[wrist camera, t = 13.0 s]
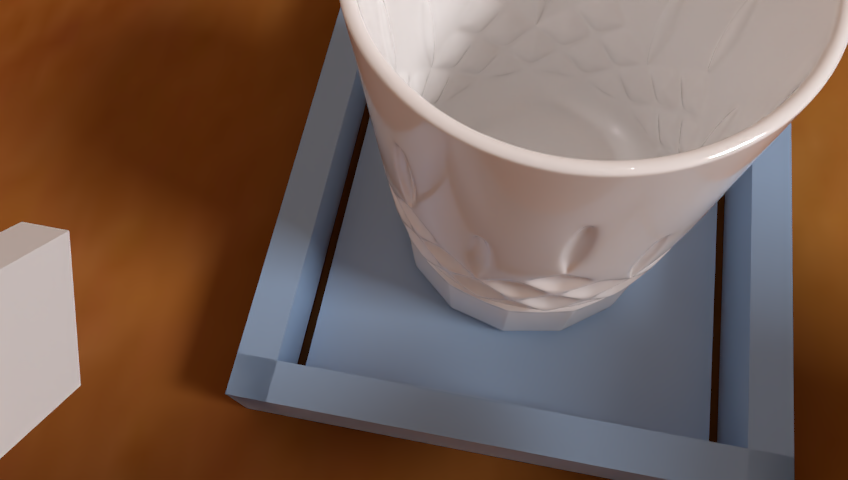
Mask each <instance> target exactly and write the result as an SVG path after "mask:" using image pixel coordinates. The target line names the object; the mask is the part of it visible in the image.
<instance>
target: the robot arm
mask: <svg viewBox="0 0 848 480" xmlns="http://www.w3.org/2000/svg"><path fill="white" fill-rule="evenodd" d="M80 386H81V382H80V369H79V355H78V342H77V329H76V315H75V302H74V288H73V275H72V262H71V248H70V235H69V230H64V229H58V228H53V227H47V226H42V225H36V224H31V223H26V222H20V223H18V224H16V225H14V226H12V227H10V228H8V229H6V230H4V231H2V232H0V458H1V457H3V456H4V455H5V454H6V453H7V452H8V451H9V450H10V449H11V448H12V447H14V446H15V445H16V444H17V443H18V442H19V441H20V440H21V439H22V438H23V437H25V436H26V435H27V434H28V433H29V432H30V431H31V430H32V429H33V428H34V427H36V426H37V425H38V424H39V423H40V422H41V421H42V420H43V419H44V418H45V417H47V416H48V415H49V414H50V413H51V412H52V411H53V410H54V409H55V408H56V407H58V406H59V405H60V404H61V403H62V402H63V401H64V400H65V399H66V398H67V397H69V396H70V395H71V394H72V393H73V392H74V391H75V390H76V389H77V388H78V387H80Z"/></svg>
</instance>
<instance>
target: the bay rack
mask: <svg viewBox="0 0 848 480" xmlns="http://www.w3.org/2000/svg"><path fill="white" fill-rule="evenodd" d="M365 105H366V99H365V95H364V91H363V87H362V83H361V79H360V75H359V72H358V68H357V64H356V60H355V57H354V53H353V49H352V46H351V42H350V38H349V34H348V31H347V27H346V23H345V20H344V16H343V12H342V9H341V7H340V11H339V14H338V17H337V21H336V24H335V27H334V31H333V34H332V37H331V41H330V44H329V47H328V51H327V54H326V57H325V61H324V64H323V68H322V71H321V74H320V78H319V81H318V84H317V88H316V91H315V94H314V98H313V101H312V104H311V108H310V111H309V114H308V118H307V121H306V124H305V128H304V131H303V135H302V138H301V141H300V145H299V148H298V151H297V155H296V158H295V161H294V165H293V168H292V171H291V175H290V178H289V181H288V185H287V188H286V192H285V195H284V198H283V202H282V205H281V208H280V212H279V215H278V218H277V222H276V225H275V228H274V232H273V235H272V238H271V242H270V245H269V248H268V252H267V255H266V259H265V262H264V265H263V269H262V272H261V275H260V279H259V282H258V285H257V289H256V292H255V295H254V299H253V302H252V305H251V309H250V312H249V316H248V319H247V322H246V326H245V329H244V332H243V336H242V339H241V342H240V346H239V349H238V352H237V356H236V359H235V362H234V366H233V369H232V372H231V376H230V379H229V383H228V386H227V389H226V393H225V394H226V395H228V396H229V397H231V398H232V399H234V400H235V401H237V402H238V403H240V404H241V405H243V406H244V407H246V408H248V409H253V410H259V411H264V412H269V413H274V414H279V415H284V416H289V417H294V418H300V419H305V420H310V421H315V422H320V423H325V424H330V425H335V426H341V427H346V428H351V429H356V430H361V431H366V432H371V433H376V434H382V435H387V436H392V437H397V438H402V439H407V440H412V441H417V442H423V443H428V444H433V445H438V446H443V447H448V448H453V449H458V450H464V451H469V452H474V453H479V454H484V455H489V456H494V457H499V458H505V459H510V460H515V461H520V462H525V463H530V464H535V465H540V466H546V467H551V468H556V469H561V470H566V471H571V472H576V473H581V474H587V475H592V476H597V477H602V478H607V479H612V480H794V380H793V274H792V167H791V123H790V124H789V125H788V126H787V127H786V128H785V129H784V130H783V131H782V133H781V134H780V135H779V136H778V137H777V138H776V139H775V140H774V141H773V142H772V143H771V144H770V145H769V146H768V147H767V149H766V150H765V151H764V152H763V153H762V154H761V155H760V156H759V157H758V158H757V159H756V160H755V161H754V163H753V164H752V165H751V166H750V167H749V168H748V169H747V170H746V171H745V172H744V173H743V174H742V176H741V177H740V178H739V179H738V180H737V181H736V182H735V183H734V184H733V185H732V186H731V188H730V189H729V190H728V191H727V192H726V193H725V205H724V237H723V269H722V301H721V333H720V365H719V397H718V429H717V443H716V442H710V441H709V426H710V398H711V370H712V342H713V314H714V285H715V257H716V229H717V203H716V204H715V205H714V206H713V207H712V208H711V209H710V210H709V211H708V212H707V214H706V215H705V216H704V217H703V218H702V219H701V220H700V221H699V222H698V223H697V224H696V225H695V226H694V227H693V228H692V229H691V230H690V231H689V232H688V233H687V234H686V235H685V236H684V237H683V238H682V239H680V240H679V241H678V242H677V243H676V244H675V245H674V246H673V247H672V248H671V249H670V250H669V251H668V252H667V253H666V254H665V255H664V256H663V257H662V258H661V259H660V260H659V261H658V262H657V263H656V264H655V265H654V266H653V267H652V268H651V269H650V270H649V271H647V272H646V273H645V274H643V275H642V276H641V277H640V278H638V279H637V280H636V281H634V282H633V283H632V284H630V285H629V286H628V287H627V289H626V290H625V291H624V292H623V293H622V294H621V296H620V297H619V298H618V299H617V300H616V301H615V303H614V304H613V305H612V306H611V307H609V308H607V309H605V310H603V311H601V312H599V313H597V314H595V315H592V316H590V317H588V318H586V319H584V320H582V321H580V322H578V323H576V324H574V325H572V326H570V327H568V328H565V329H563V330H561V331H502V330H499V329H497V328H495V327H493V326H491V325H489V324H486V323H484V322H482V321H480V320H478V319H475V318H473V317H471V316H469V315H467V314H464V313H462V312H460V311H458V310H456V309H453V308H451V307H450V306H449V304H448V303H447V302H446V301H445V300H444V298H443V297H442V296H441V295H440V294H439V293H438V291H437V290H436V289H435V288H434V287H433V285H432V284H431V283H430V282H429V281H428V279H427V278H426V277H425V276H424V275H423V274H422V272H421V271H420V270H419V269H418V268H417V266H416V264H415V260H414V256H413V251H412V247H411V243H410V238H409V234H408V231H407V229H406V227H405V225H404V223H403V221H402V219H401V218H400V216H399V214H398V212H397V209H396V206H395V202H394V198H393V196H392V193H391V190H390V186H389V183H388V180H387V178H386V175H385V171H384V167H383V163H382V159H381V155H380V152H379V148H378V144H377V140H376V136H375V133H374V129H373V125H372V122H371V118H369V122H368V126H367V130H366V134H365V138H364V142H363V146H362V149H361V153H360V157H359V161H358V165H357V169H356V173H355V176H354V180H353V184H352V188H351V192H350V196H349V200H348V203H347V207H346V211H345V215H344V219H343V223H342V227H341V231H340V234H339V238H338V242H337V246H336V250H335V254H334V258H333V261H332V265H331V269H330V273H329V277H328V281H327V285H326V288H325V292H324V296H323V300H322V304H321V308H320V312H319V316H318V319H317V323H316V327H315V331H314V335H313V339H312V343H311V346H310V350H309V354H308V358H307V362H306V366H305V365H299V364H297V363H298V360H299V356H300V352H301V348H302V344H303V341H304V337H305V333H306V329H307V325H308V322H309V318H310V314H311V310H312V306H313V303H314V299H315V295H316V291H317V287H318V284H319V280H320V276H321V272H322V268H323V265H324V261H325V257H326V253H327V250H328V246H329V242H330V238H331V234H332V231H333V227H334V223H335V219H336V215H337V212H338V208H339V204H340V200H341V196H342V193H343V189H344V185H345V181H346V177H347V174H348V170H349V166H350V162H351V158H352V155H353V151H354V147H355V143H356V139H357V136H358V132H359V128H360V124H361V121H362V117H363V113H364V109H365Z"/></svg>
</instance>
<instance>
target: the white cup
mask: <svg viewBox="0 0 848 480" xmlns="http://www.w3.org/2000/svg"><path fill="white" fill-rule="evenodd" d="M339 1H340V5H341V9H342V12H343V16H344V20H345V23H346V27H347V31H348V34H349V38H350V42H351V46H352V49H353V53H354V57H355V60H356V64H357V68H358V72H359V75H360V79H361V83H362V87H363V91H364V95H365V99H366V102H367V106H368V110H369V114H370V118H371V122H372V125H373V129H374V133H375V136H376V140H377V144H378V148H379V152H380V155H381V159H382V163H383V167H384V171H385V175H386V178H387V180H388V183H389V186H390V190H391V193H392V196H393V198H394V202H395V206H396V209H397V212H398V214H399V216H400V218H401V219H402V221H403V223H404V225H405V227H406V229H407V231H408V234H409V238H410V243H411V247H412V251H413V256H414V260H415V264H416V266H417V268H418V269H419V270H420V271H421V272H422V274H423V275H424V276H425V277H426V278H427V279H428V281H429V282H430V283H431V284H432V285H433V287H434V288H435V289H436V290H437V291H438V293H439V294H440V295H441V296H442V297H443V298H444V300H445V301H446V302H447V303H448V304H449V306H450V307H451V308H453V309H456V310H458V311H460V312H462V313H464V314H467V315H469V316H471V317H473V318H475V319H478V320H480V321H482V322H484V323H486V324H489V325H491V326H493V327H495V328H497V329H499V330H502V331H561V330H563V329H565V328H568V327H570V326H572V325H574V324H576V323H578V322H580V321H582V320H584V319H586V318H588V317H590V316H592V315H595V314H597V313H599V312H601V311H603V310H605V309H607V308H609V307H611V306H612V305H613V304H614V303H615V301H616V300H617V299H618V298H619V297H620V296H621V294H622V293H623V292H624V291H625V290H626V289H627V287H628V286H629V285H630V284H632V283H633V282H634V281H636V280H637V279H638V278H640V277H641V276H642V275H643V274H645V273H646V272H647V271H649V270H650V269H651V268H652V267H653V266H654V265H655V264H656V263H657V262H658V261H659V260H660V259H661V258H662V257H663V256H664V255H665V254H666V253H667V252H668V251H669V250H670V249H671V248H672V247H673V246H674V245H675V244H676V243H677V242H678V241H679V240H680V239H682V238H683V237H684V236H685V235H686V234H687V233H688V232H689V231H690V230H691V229H692V228H693V227H694V226H695V225H696V224H697V223H698V222H699V221H700V220H701V219H702V218H703V217H704V216H705V215H706V214H707V212H708V211H709V210H710V209H711V208H712V207H713V206H714V205H715V204H716V203H717V202H718V200H719V199H720V198H721V197H722V196H723V195H724V194H725V193H726V192H727V191H728V190H729V189H730V188H731V186H732V185H733V184H734V183H735V182H736V181H737V180H738V179H739V178H740V177H741V176H742V174H743V173H744V172H745V171H746V170H747V169H748V168H749V167H750V166H751V165H752V164H753V163H754V161H755V160H756V159H757V158H758V157H759V156H760V155H761V154H762V153H763V152H764V151H765V150H766V149H767V147H768V146H769V145H770V144H771V143H772V142H773V141H774V140H775V139H776V138H777V137H778V136H779V135H780V134H781V133H782V131H783V130H784V129H785V128H786V127H787V126H788V125H789V124H790V123H791V122H792V121H793V120H794V119H795V118H796V117H797V116H798V115H799V113H800V112H801V111H802V110H803V109H804V108H805V107H806V106H807V105H808V104H809V103H810V102H811V101H812V100H813V99H814V97H815V96H816V95H817V94H818V93H819V91H820V90H821V89H822V88H823V86H824V85H825V84H826V82H827V81H828V79H829V78H830V77H831V75H832V73H833V72H834V70H835V68H836V67H837V65H838V63H839V61H840V59H841V57H842V55H843V53H844V51H845V48H846V46H847V43H848V0H339Z"/></svg>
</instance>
